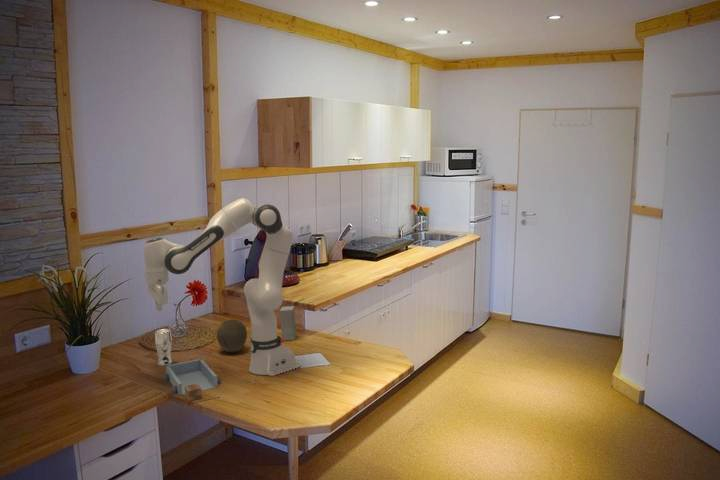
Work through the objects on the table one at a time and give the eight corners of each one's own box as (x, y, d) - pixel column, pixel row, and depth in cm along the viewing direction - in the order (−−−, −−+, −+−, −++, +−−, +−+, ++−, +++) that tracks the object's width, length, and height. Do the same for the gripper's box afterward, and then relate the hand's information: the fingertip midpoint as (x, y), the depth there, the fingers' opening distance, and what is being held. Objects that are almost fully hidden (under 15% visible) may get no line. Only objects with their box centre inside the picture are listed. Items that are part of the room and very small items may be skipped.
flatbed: (207, 370, 248) (206, 357, 247) (222, 389, 229) (222, 374, 228) (161, 380, 238) (160, 366, 237) (173, 400, 219) (172, 385, 218)
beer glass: (168, 366, 253) (165, 334, 250) (153, 365, 254) (151, 333, 252) (176, 360, 260) (174, 329, 257) (162, 359, 261) (160, 328, 259)
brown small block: (198, 394, 222) (197, 383, 221) (201, 399, 218) (201, 388, 217) (185, 397, 219) (184, 386, 219) (188, 402, 215) (187, 391, 214)
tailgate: (214, 388, 227) (220, 396, 220) (214, 391, 227) (220, 398, 220) (183, 395, 221) (188, 403, 214) (183, 398, 221) (188, 406, 214)
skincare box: (294, 340, 285) (293, 310, 283) (280, 340, 285) (279, 310, 283) (296, 335, 293) (295, 305, 291) (282, 335, 294) (281, 305, 291)
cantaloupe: (252, 352, 270) (251, 321, 267) (224, 358, 262) (222, 327, 260) (241, 343, 281) (239, 314, 279) (213, 349, 274) (211, 319, 271)
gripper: (170, 281, 227) (172, 315, 229) (159, 272, 244) (161, 303, 247) (154, 283, 224) (156, 317, 226) (144, 273, 241) (146, 305, 243)
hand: (159, 310), depth 237 cm, fingers closed
